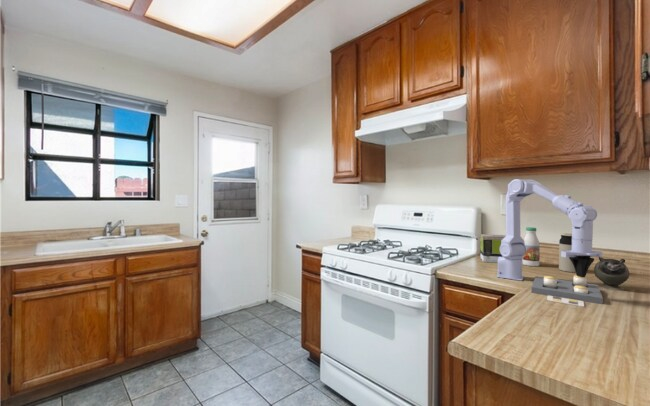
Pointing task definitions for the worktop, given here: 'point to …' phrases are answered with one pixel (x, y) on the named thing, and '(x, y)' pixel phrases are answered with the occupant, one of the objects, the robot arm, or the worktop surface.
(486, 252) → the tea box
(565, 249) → the travel mug
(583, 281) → the far-right button
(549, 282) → the near-left button
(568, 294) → the button board
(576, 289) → the near-right button
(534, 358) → the worktop surface
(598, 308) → the worktop surface
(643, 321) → the worktop surface
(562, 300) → the card
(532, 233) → the milk bottle
